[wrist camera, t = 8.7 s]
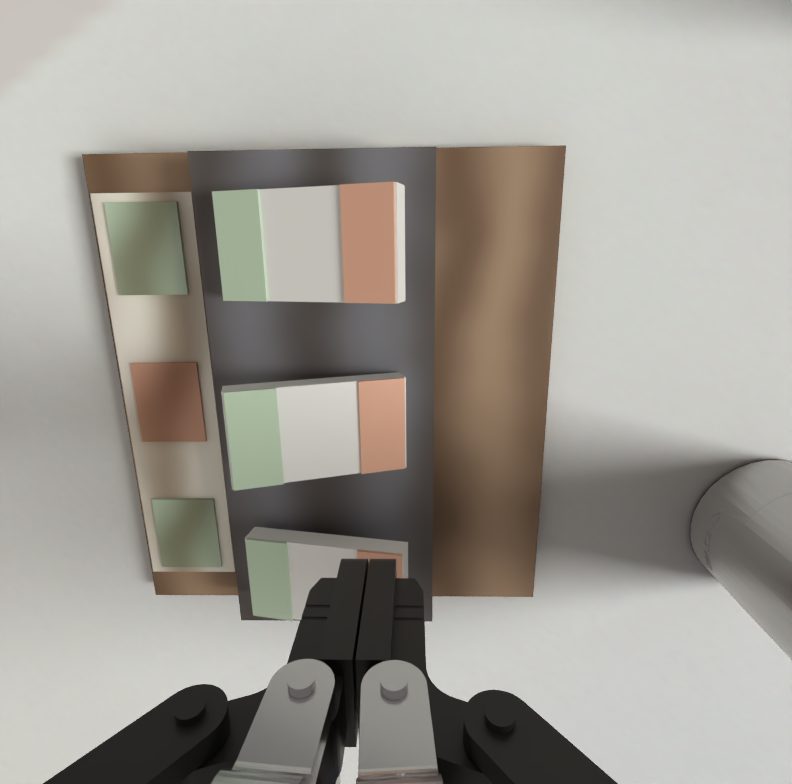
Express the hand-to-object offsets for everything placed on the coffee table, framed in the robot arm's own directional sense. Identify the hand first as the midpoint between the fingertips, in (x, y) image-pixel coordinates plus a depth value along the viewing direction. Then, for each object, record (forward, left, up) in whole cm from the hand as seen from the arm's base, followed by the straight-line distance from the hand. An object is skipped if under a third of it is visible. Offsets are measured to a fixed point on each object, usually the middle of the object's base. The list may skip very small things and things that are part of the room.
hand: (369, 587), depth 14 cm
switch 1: (+4, -9, -13) cm, 16 cm away
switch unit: (+4, 0, -19) cm, 19 cm away
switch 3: (+4, +9, -13) cm, 16 cm away
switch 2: (+4, 0, -13) cm, 13 cm away
